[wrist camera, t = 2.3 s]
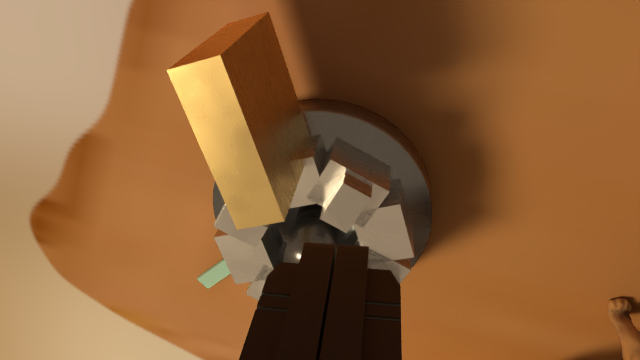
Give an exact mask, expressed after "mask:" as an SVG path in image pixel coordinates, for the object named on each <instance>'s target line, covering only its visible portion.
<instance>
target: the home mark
mask: <svg viewBox="0 0 640 360" xmlns="http://www.w3.org/2000/svg"><path fill="white" fill-rule="evenodd" d="M229 274H231V273H230V271H229V269H228V267H227V264H226V262H225V260H224V259H222V260H221V261H220V262H218V263H217V264H215V265H214V266H212V267H211V268H210V269H208V270H207V271H205V272H204V273H203V274H201V275H200V276H198V278H197V280H198V281H199V282H201V283H202V284H203V285H204V286H205V287H206V288H207V289H209V288H210V287H212V286H213V285H214V284H216V283H217V282H219V281H220V280H222V279H223V278H225V277H226V276H228V275H229Z"/></svg>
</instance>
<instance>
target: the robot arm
mask: <svg viewBox="0 0 640 360" xmlns="http://www.w3.org/2000/svg"><path fill="white" fill-rule="evenodd" d="M368 257H369V246H355V245H341V244H338V247H337V253H336V244H325V243H311V242H305V243H304V246H303V250H302V253H301V257H300V261H299V263H286V262H280V263H279V264H278V265H277V266H276V267H275V268H274V269H273V270H272V271H271V272H270V273H269V274H268V275H267V278H266V281H265V284H264V287H263V289H262V294H261V296H260V298H259V301H258V304H257V310H255V313H254V316H253V319H252V322H251V325H250V328H249V331H248V334H247V337H246V340H245V343H244V346H243V349H242V352H241V355H240V358H239V360H402V353H401V307H400V306H401V296H400V285H399V283H398V281H397V280H396V278H395V276H394V275H393V273H392V271H391V270H382V269H368Z"/></svg>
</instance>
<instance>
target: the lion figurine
mask: <svg viewBox="0 0 640 360" xmlns="http://www.w3.org/2000/svg"><path fill="white" fill-rule="evenodd" d="M631 308H632V306H631V304H630V303H629V302H628V300H627V299H624V298H623V299H622V298H617V299H611V300H610V301H609V303H608V314H609V317H610V319H611V320H612V322H613V324H614V326H615V328H616V329H617V331H618V334H619V337H620V341H621V345H622V355H623V360H640V332H639V331H638V330H637V329H636V327H635V326H634V325H633V323H632V321H631V318H630V316H629V313H630V311H631Z"/></svg>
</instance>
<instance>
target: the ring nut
mask: <svg viewBox="0 0 640 360" xmlns="http://www.w3.org/2000/svg"><path fill="white" fill-rule="evenodd" d="M167 72H168V74H169V76H170V79H171V81H172V83H173V86H174V88H175V90H176V92H177V95H178V97H179V99H180V102H181V104H182V106H183V108H184V111H185V113H186V115H187V117H188V120H189V122H190V124H191V127H192V129H193V131H194V133H195V136H196V138H197V140H198V143H199V145H200V147H201V149H202V152H203V154H204V156H205V158H206V161H207V163H208V165H209V168H210V170H211V172H212V174H213V177H214V179H215V181H216V184H217V186H218V188H219V190H220V193H221V195H222V197H223V199H224V202H225V204H224V206H223V208H222V210H221V212H220V214H219V215H218V217H217V219H216V221H215V223H214V225H215V228H217V229H218V231H217V233H216V234H215V236H214V239H215V241H216V243H217V245H218V247H219V249H220V252H221V254H222V256H223V258H224V260H225V262H226V264H227V267H228V269H229V271H230V273H231V275H232V277H233V279H234V282H235V284H240V283H246V282H250V285H249V287H248V290H247V292H246V294H247V295H249V296H251V297H253V298H255V299H257V300H259V298H260V296H261V294H262V289H263V287H264V284H265V281H266V278H267V275H268V274H269V273H270V272H271V271H272V270H273V269H274V268H275V267H276V266H277V265H278V264H279V263H280V262H283V257H284V253H285V250H286V247H287V244H288V243H286V242H284V241H283V239H282V236H281V234H280V231H279V229H278V226H277V224H276V223H278V222H284V221H285V219H286V216H287V213H288V210H289V209H290V208H295V207H300V206H306V205H311V204H316V203H317V204H319V205H321V206H322V211H321V215H320V219H321V220H323V221H325V222H327V223H328V224H330V225H332V226H334V227H336V228H338V229H340V230H342V231H344V232H345V233H347V231H348V230H349V229H350V227H351V226H352V224H354V228H355V231H356V234H357V237H358V240H357V241H356V242H355V244H354V245H355V246H369V257H368V269H382V270H391V271H392V273H393V275H394V276H395V278H396V280H397V281H398V283H399V285H400V283H401V281H402V280H403V279H404V278H405V277H406V276H407V274H408V273H409V272H410V271H411V258H413V257H414V240H413V226H412V222H411V218H410V214H409V210H408V206H407V202H406V199H405V195H404V191H403V187H402V183H401V179H400V178H399V179H394V180H390V175H391V166H389V165H387V164H385V163H384V162H382V161H380V160H378V159H376V158H375V157H373V156H371V155H369V154H367V153H365V152H364V151H362V150H360V149H358V148H356V147H355V146H353V145H351V144H349V143H347V142H346V141H344V140H342V139H340V138H338V137H336V139H335V140H334V142H333V144H332V145H331V147H330V148H329V150H328V152H327V153H326V150H325V146H324V143H323V140H322V137H321V134H319V135H315V136H310V135H309V132H308V129H307V126H306V123H305V120H304V117H303V114H302V111H301V108H300V105H299V102H298V99H297V96H296V93H295V90H294V87H293V84H292V81H291V78H290V75H289V71H288V68H287V65H286V62H285V59H284V56H283V53H282V50H281V47H280V44H279V41H278V38H277V35H276V32H275V29H274V26H273V23H272V20H271V17H270V14H269V12H266V13H263V14H259V15H256V16H253V17H249V18H246V19H243V20H239V21H236V22H232V23H229V24H227V25H226V26H224V27H223V28H222V29H220V30H219V31H218V32H216V33H215V34H214V35H212V36H211V37H210V38H209V39H207V40H206V41H205V42H203V43H202V44H201V45H199V46H198V47H197V48H195V49H194V50H193V51H191V52H190V53H189V54H187V55H186V56H185V57H183V58H182V59H181V60H179V61H178V62H177V63H175V64H174V65H173V66H171V67H170V68H169V69H167Z"/></svg>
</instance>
